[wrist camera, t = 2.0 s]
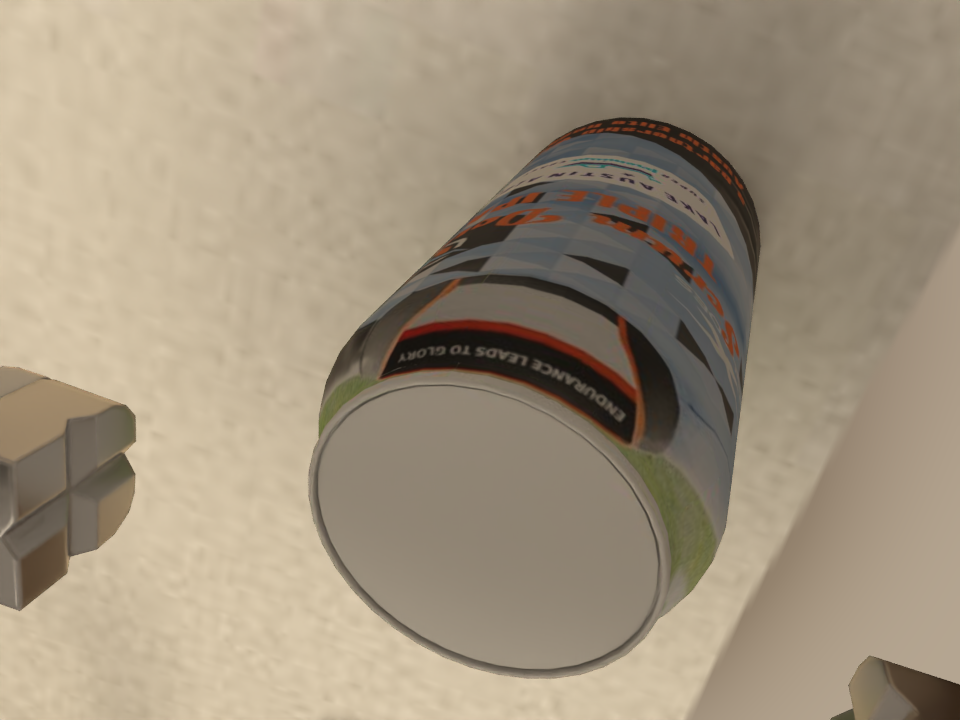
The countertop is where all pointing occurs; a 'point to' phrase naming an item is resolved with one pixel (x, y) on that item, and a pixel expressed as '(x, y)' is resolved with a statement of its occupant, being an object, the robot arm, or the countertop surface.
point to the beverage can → (549, 408)
